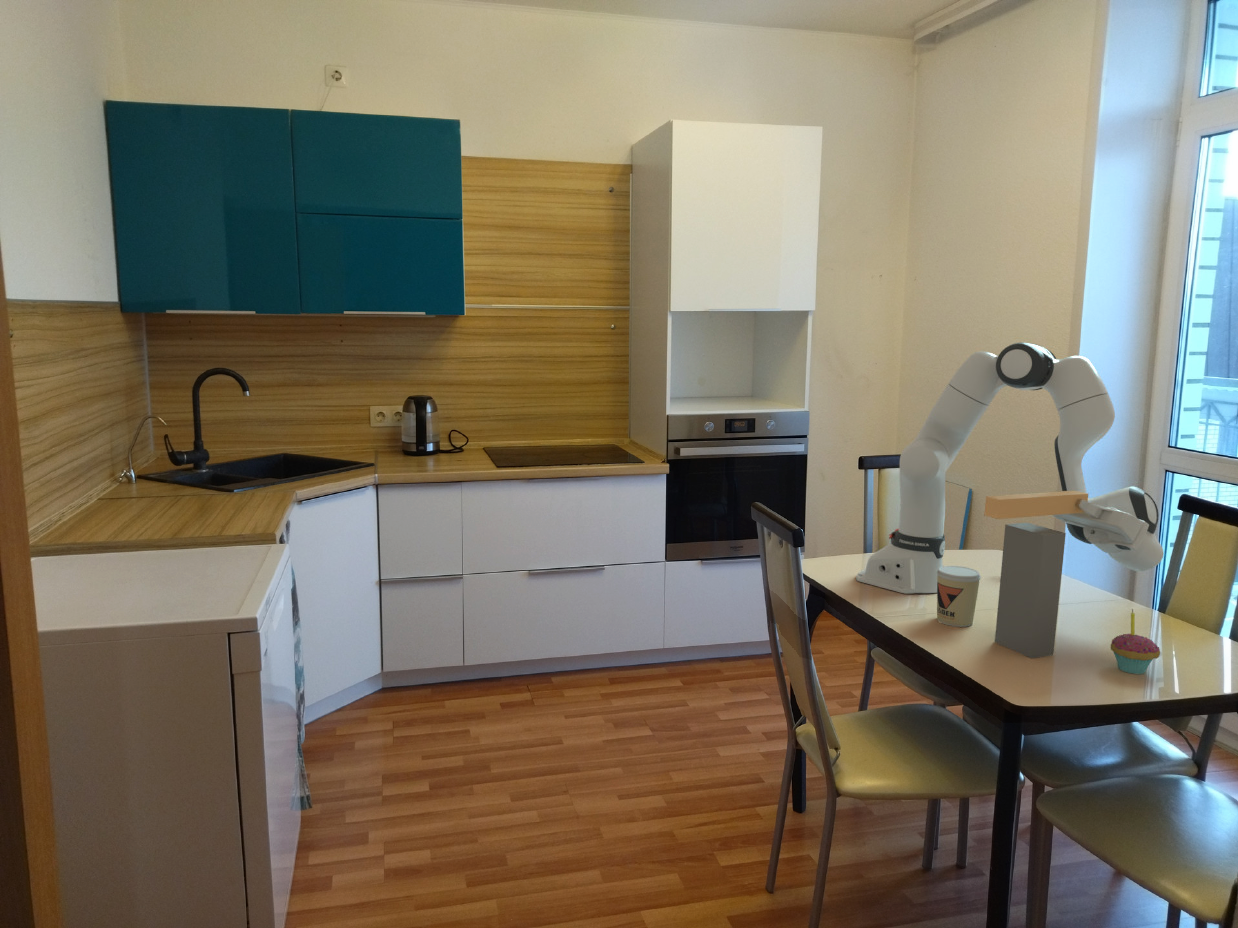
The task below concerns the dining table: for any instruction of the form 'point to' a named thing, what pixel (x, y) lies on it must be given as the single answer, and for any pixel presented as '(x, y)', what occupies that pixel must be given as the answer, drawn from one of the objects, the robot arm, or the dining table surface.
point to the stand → (1029, 589)
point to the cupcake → (1134, 651)
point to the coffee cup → (957, 595)
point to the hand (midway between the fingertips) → (1069, 499)
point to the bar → (1033, 504)
